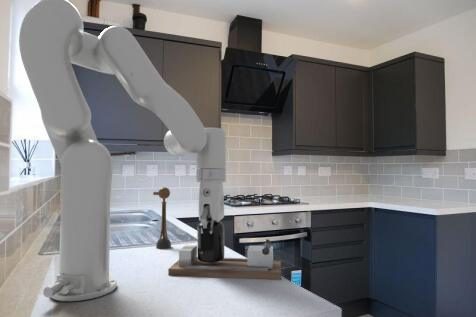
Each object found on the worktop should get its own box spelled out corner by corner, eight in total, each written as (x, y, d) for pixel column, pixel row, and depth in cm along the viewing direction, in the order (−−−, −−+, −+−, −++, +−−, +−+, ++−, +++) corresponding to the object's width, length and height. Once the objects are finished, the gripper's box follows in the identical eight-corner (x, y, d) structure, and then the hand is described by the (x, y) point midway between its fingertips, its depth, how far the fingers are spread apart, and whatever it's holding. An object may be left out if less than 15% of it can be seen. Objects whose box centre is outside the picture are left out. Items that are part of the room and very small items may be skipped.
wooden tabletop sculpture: (151, 249, 104) (152, 187, 105) (154, 246, 109) (154, 187, 110) (170, 248, 105) (170, 187, 106) (171, 245, 109) (172, 186, 110)
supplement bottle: (212, 254, 86) (212, 209, 87) (229, 259, 81) (230, 211, 82) (191, 259, 81) (192, 211, 82) (208, 264, 76) (209, 214, 77)
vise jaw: (272, 271, 74) (272, 248, 74) (246, 270, 75) (246, 247, 75) (273, 259, 85) (272, 238, 85) (250, 258, 85) (250, 238, 86)
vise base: (281, 279, 74) (280, 255, 74) (168, 275, 77) (168, 252, 78) (280, 267, 84) (280, 245, 84) (180, 263, 87) (180, 243, 88)
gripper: (219, 176, 73) (218, 255, 72) (230, 176, 90) (230, 240, 89) (187, 176, 74) (186, 254, 73) (204, 176, 91) (204, 239, 90)
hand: (210, 246), depth 81 cm, fingers closed on supplement bottle, 6 cm apart
